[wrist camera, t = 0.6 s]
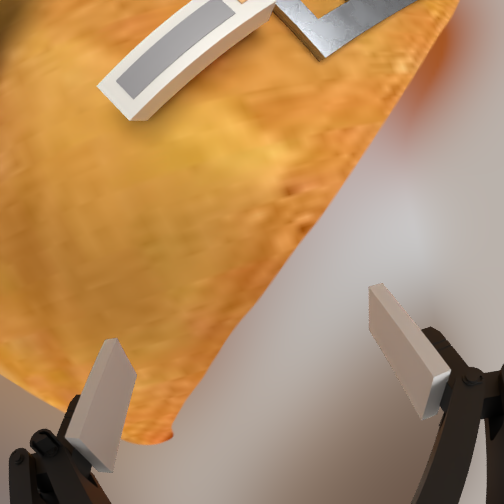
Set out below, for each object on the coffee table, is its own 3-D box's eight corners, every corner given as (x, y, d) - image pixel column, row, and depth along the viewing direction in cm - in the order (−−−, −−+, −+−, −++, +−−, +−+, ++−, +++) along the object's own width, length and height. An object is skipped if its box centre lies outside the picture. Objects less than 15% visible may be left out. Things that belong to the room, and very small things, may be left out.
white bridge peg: (130, 94, 31) (95, 85, 22) (237, 4, 28) (240, -34, 19) (155, 120, 33) (128, 120, 23) (264, 30, 30) (277, -1, 20)
